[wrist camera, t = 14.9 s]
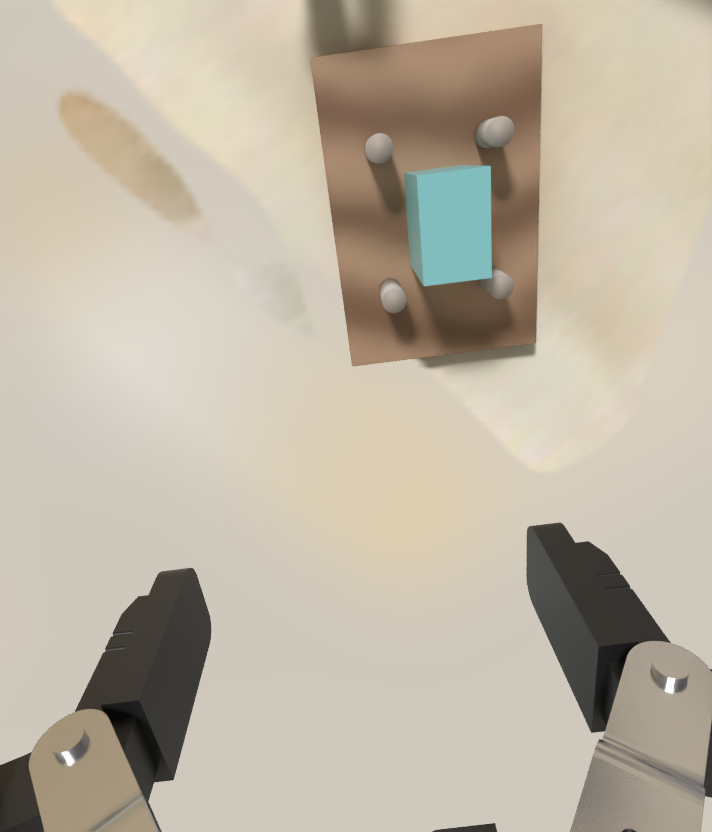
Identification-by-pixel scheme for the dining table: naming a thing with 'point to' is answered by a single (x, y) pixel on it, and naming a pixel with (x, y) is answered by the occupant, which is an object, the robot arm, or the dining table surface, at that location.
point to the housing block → (449, 223)
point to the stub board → (421, 150)
